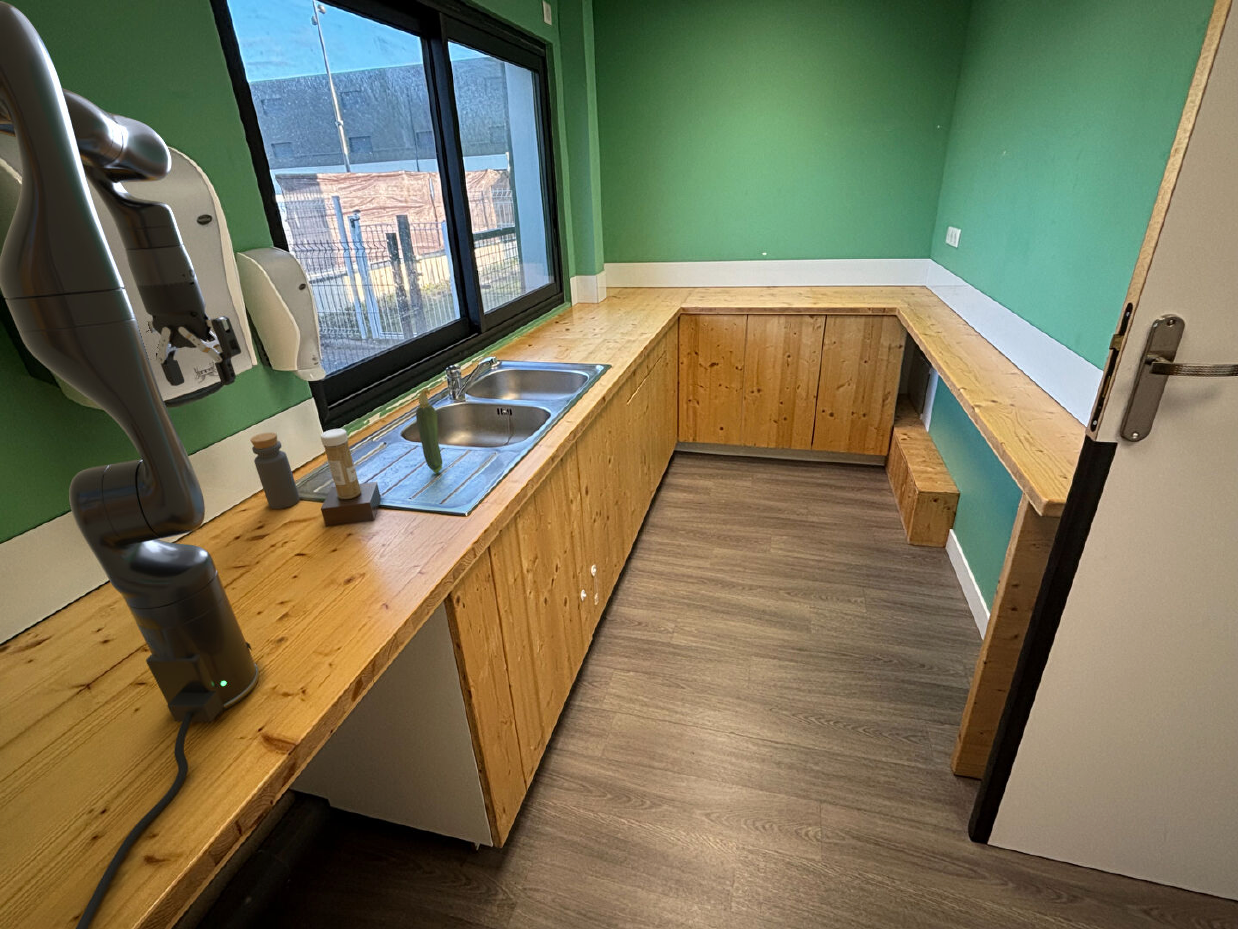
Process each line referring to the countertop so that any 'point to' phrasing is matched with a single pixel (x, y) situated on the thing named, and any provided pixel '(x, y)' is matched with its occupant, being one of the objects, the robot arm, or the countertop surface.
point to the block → (351, 506)
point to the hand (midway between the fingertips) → (203, 384)
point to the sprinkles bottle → (341, 463)
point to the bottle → (274, 471)
